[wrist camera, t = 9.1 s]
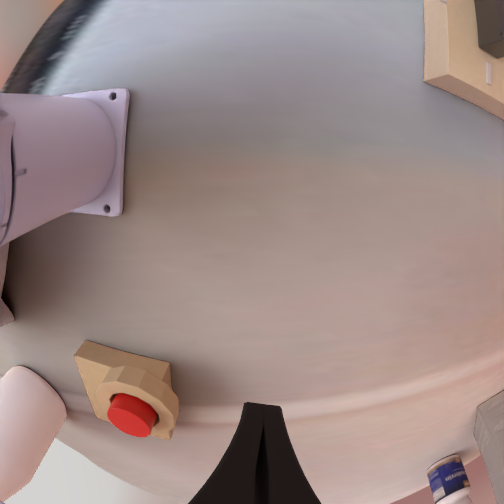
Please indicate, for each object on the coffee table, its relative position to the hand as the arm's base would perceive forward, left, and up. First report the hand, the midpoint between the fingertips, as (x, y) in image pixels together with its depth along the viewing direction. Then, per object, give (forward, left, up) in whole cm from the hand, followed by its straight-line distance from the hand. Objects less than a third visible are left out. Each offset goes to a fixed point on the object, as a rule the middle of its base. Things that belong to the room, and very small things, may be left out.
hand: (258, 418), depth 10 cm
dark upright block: (+10, +20, -6) cm, 24 cm away
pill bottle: (+31, -27, -10) cm, 42 cm away
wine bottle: (-26, -20, -10) cm, 34 cm away
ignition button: (-9, -10, -6) cm, 14 cm away
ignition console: (-11, -12, -9) cm, 18 cm away
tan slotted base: (+12, +20, -9) cm, 26 cm away
